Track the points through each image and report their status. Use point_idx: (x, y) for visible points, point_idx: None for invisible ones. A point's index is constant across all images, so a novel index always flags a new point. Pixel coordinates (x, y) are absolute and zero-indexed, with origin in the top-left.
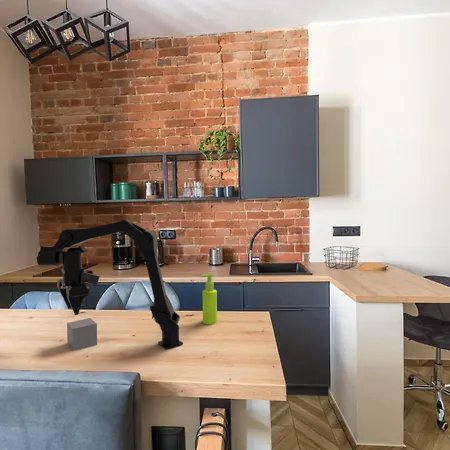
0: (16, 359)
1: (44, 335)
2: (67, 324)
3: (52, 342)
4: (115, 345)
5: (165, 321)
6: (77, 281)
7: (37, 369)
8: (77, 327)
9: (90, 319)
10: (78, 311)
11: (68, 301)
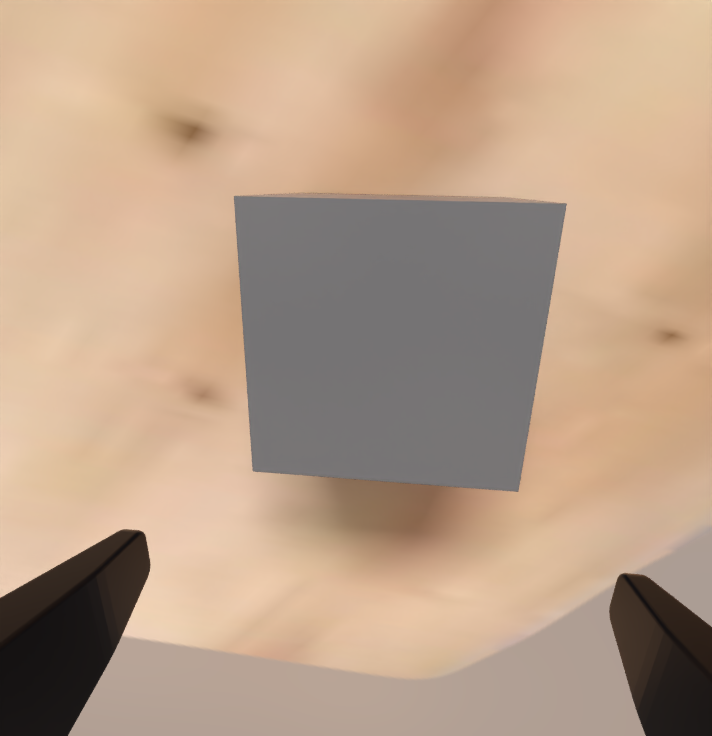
0: (358, 633)
1: (40, 453)
2: (279, 465)
3: (213, 447)
4: (672, 48)
5: None
6: None
7: (589, 597)
8: (512, 439)
9: (309, 217)
10: (695, 629)
11: (62, 687)
